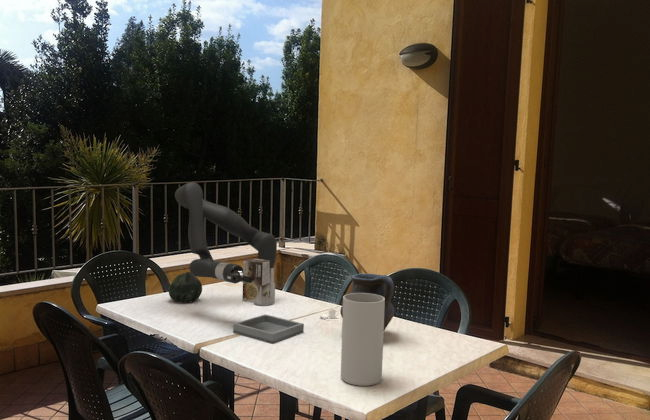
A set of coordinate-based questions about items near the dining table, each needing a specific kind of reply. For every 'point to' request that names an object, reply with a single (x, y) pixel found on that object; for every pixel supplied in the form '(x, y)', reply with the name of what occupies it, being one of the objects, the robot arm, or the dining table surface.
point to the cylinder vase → (362, 338)
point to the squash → (185, 288)
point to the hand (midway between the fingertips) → (258, 278)
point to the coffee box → (257, 280)
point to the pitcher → (375, 291)
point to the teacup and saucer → (330, 315)
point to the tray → (268, 328)
